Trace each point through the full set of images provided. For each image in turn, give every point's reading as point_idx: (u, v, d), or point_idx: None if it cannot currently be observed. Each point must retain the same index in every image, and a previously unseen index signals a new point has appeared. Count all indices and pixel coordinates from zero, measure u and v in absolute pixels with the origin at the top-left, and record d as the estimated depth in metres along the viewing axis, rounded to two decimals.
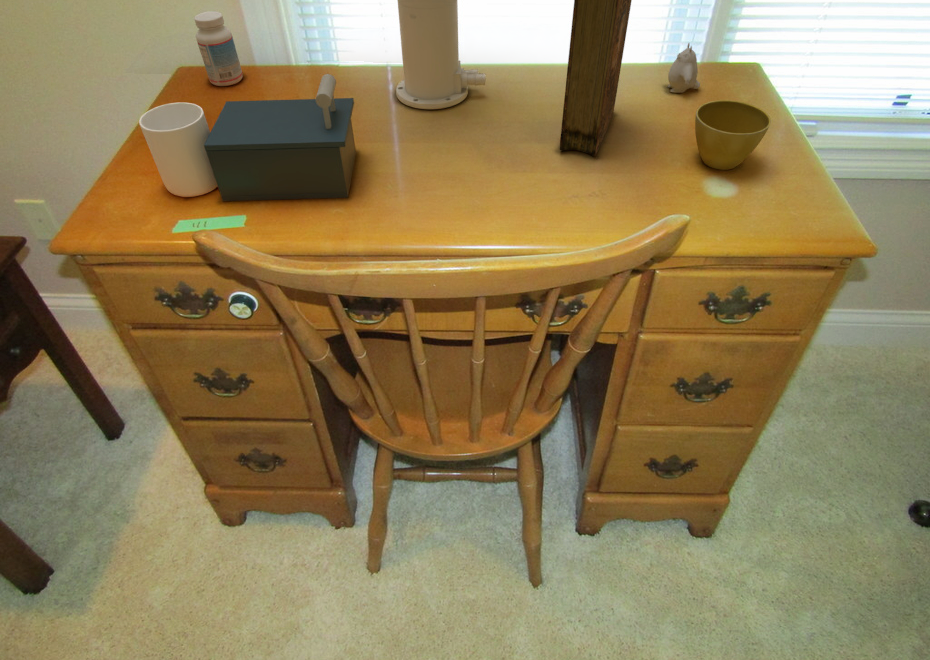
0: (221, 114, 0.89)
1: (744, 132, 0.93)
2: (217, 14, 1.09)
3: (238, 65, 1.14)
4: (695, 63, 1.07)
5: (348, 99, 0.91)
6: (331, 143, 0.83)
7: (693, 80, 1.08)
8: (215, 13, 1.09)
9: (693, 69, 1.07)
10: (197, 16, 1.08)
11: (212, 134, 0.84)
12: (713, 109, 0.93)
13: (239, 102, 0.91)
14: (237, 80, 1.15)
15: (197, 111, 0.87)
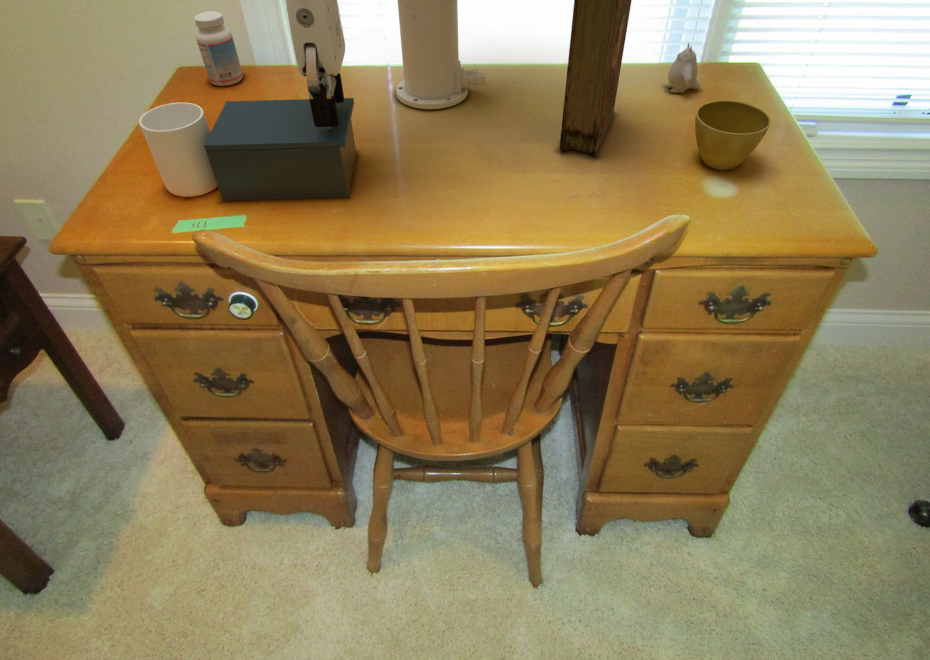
0: (221, 114, 0.89)
1: (744, 132, 0.93)
2: (217, 14, 1.09)
3: (238, 65, 1.14)
4: (695, 63, 1.07)
5: (348, 99, 0.91)
6: (331, 143, 0.83)
7: (692, 80, 1.08)
8: (215, 13, 1.09)
9: (693, 69, 1.07)
10: (197, 16, 1.08)
11: (212, 134, 0.84)
12: (713, 109, 0.93)
13: (239, 102, 0.91)
14: (237, 80, 1.15)
15: (197, 111, 0.87)
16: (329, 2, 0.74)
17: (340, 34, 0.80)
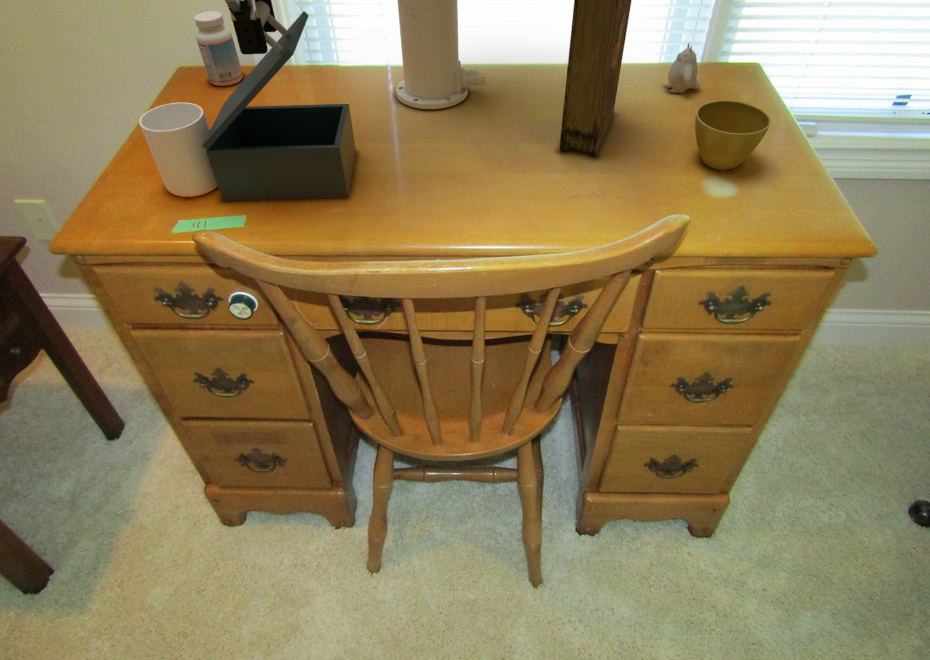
0: None
1: (744, 132, 0.93)
2: (217, 14, 1.09)
3: (238, 65, 1.14)
4: (695, 63, 1.07)
5: (300, 15, 0.83)
6: (281, 61, 0.75)
7: (693, 80, 1.08)
8: (215, 13, 1.09)
9: (693, 69, 1.07)
10: (197, 16, 1.08)
11: (209, 133, 0.84)
12: (713, 109, 0.93)
13: (231, 94, 0.90)
14: (237, 80, 1.15)
15: (197, 111, 0.87)
16: None
17: None
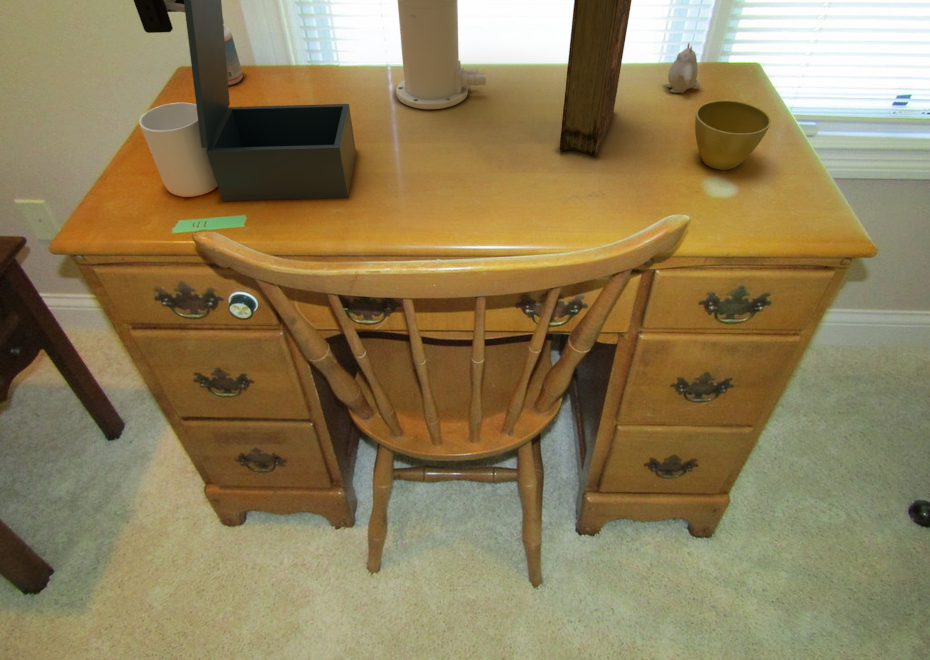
0: None
1: (744, 132, 0.93)
2: None
3: (238, 65, 1.14)
4: (695, 63, 1.07)
5: None
6: (188, 15, 0.71)
7: (693, 80, 1.08)
8: None
9: (693, 69, 1.07)
10: None
11: None
12: (713, 109, 0.93)
13: None
14: (237, 80, 1.15)
15: None
16: None
17: None
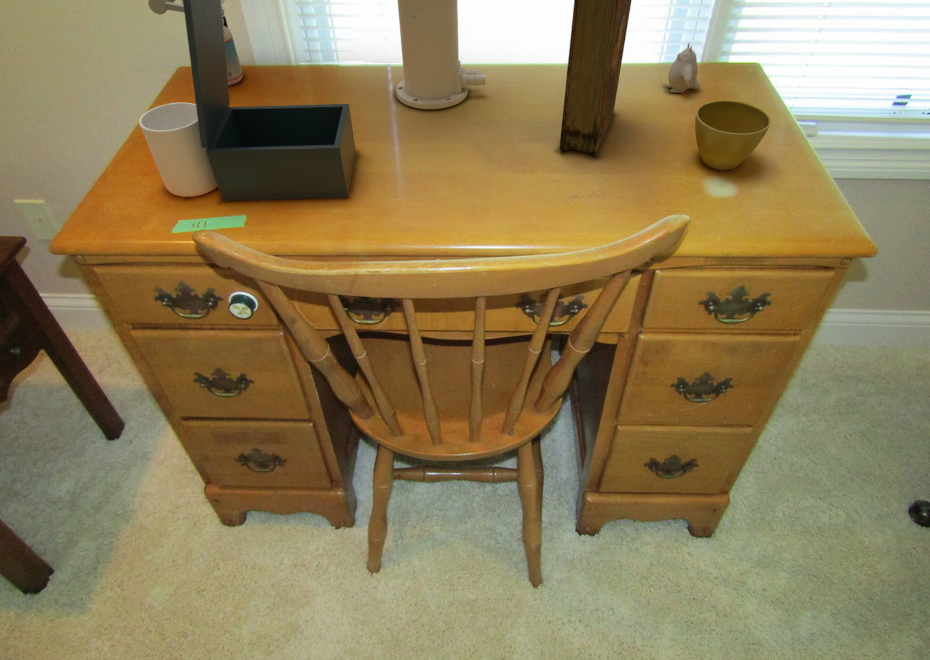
0: None
1: (744, 132, 0.93)
2: None
3: (238, 65, 1.14)
4: (695, 63, 1.07)
5: None
6: (187, 15, 0.71)
7: (693, 80, 1.08)
8: None
9: (693, 69, 1.07)
10: None
11: None
12: (713, 109, 0.93)
13: None
14: (237, 80, 1.15)
15: None
16: None
17: None
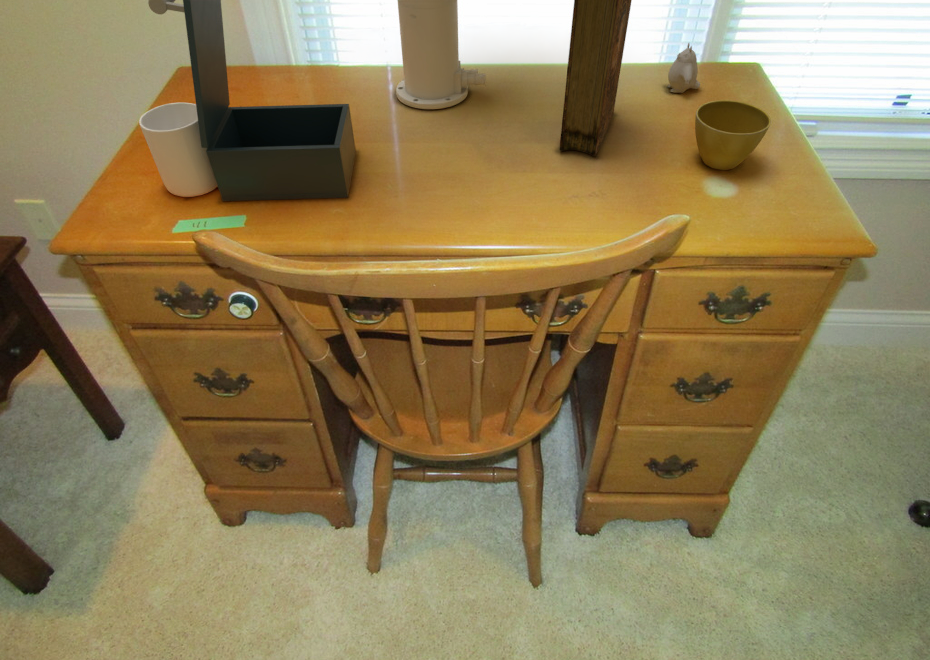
0: None
1: (744, 132, 0.93)
2: None
3: None
4: (695, 63, 1.07)
5: None
6: (187, 15, 0.71)
7: (693, 80, 1.08)
8: None
9: (693, 69, 1.07)
10: None
11: None
12: (713, 109, 0.93)
13: None
14: None
15: None
16: None
17: None
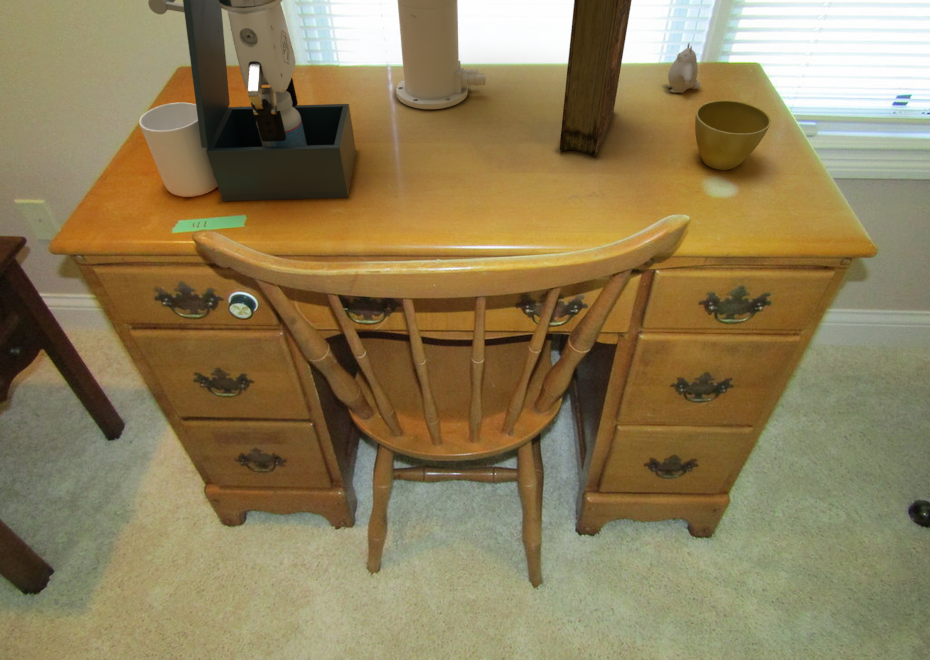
0: None
1: (744, 132, 0.93)
2: (284, 93, 0.85)
3: None
4: (695, 63, 1.07)
5: None
6: (187, 15, 0.71)
7: (693, 80, 1.08)
8: None
9: (693, 69, 1.07)
10: None
11: None
12: (713, 109, 0.93)
13: None
14: None
15: None
16: (273, 21, 0.76)
17: (288, 51, 0.82)
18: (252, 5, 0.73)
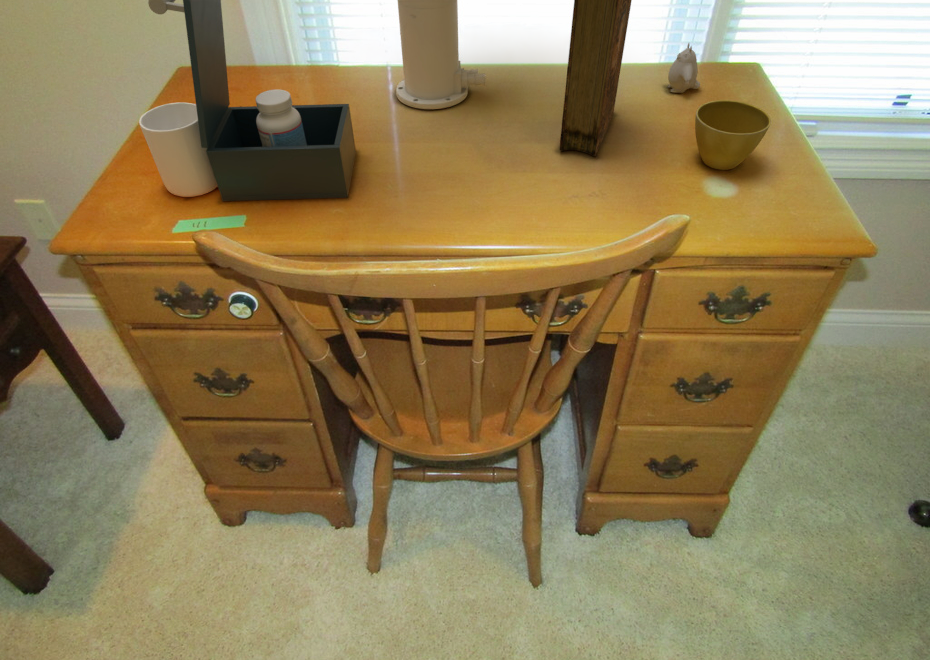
0: None
1: (744, 132, 0.93)
2: (284, 93, 0.85)
3: None
4: (695, 63, 1.07)
5: None
6: (187, 15, 0.71)
7: (692, 80, 1.08)
8: (281, 92, 0.86)
9: (693, 69, 1.07)
10: (259, 97, 0.85)
11: None
12: (713, 109, 0.93)
13: None
14: None
15: None
16: None
17: None
18: None
